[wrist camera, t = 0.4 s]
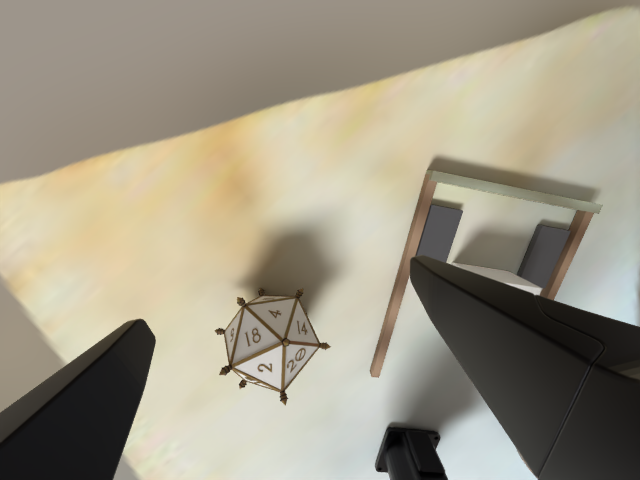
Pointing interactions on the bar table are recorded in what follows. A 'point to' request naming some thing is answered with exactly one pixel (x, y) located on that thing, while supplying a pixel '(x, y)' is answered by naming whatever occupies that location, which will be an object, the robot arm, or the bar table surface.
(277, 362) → the game die
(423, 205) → the wood-trimmed serving tray
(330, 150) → the bar table surface
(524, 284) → the block
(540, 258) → the dark grey rectangular slab
